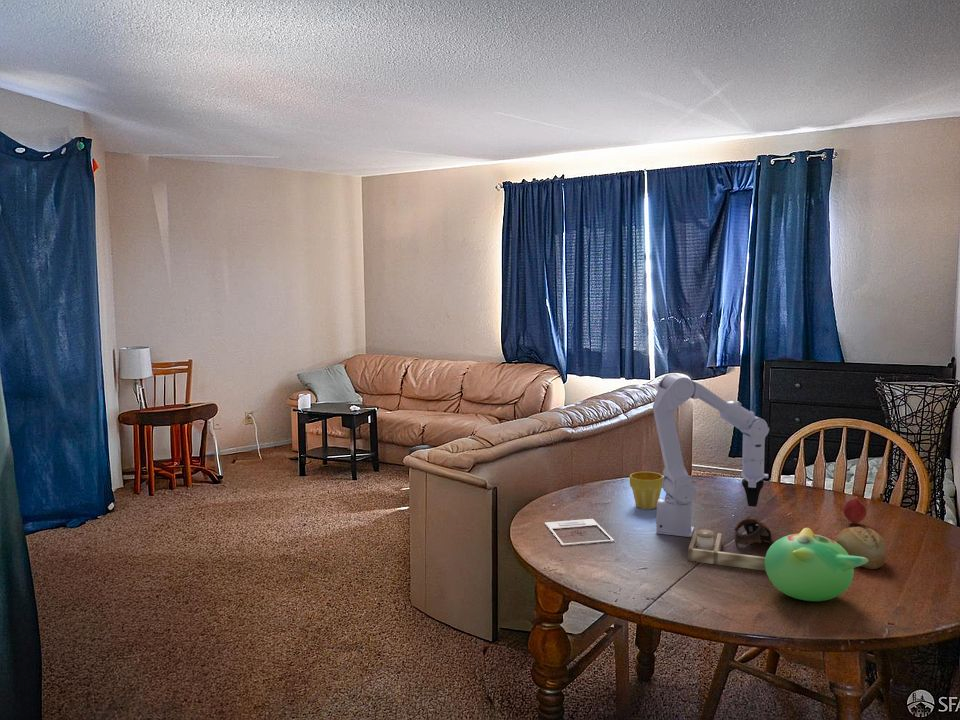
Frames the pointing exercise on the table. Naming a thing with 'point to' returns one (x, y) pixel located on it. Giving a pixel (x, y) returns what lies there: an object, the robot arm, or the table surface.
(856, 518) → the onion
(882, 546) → the bread roll
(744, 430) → the robot arm
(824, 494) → the table surface
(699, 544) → the cream jar
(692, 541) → the bracket
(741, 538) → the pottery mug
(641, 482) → the plant pot
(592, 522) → the photo frame
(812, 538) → the toy bird
